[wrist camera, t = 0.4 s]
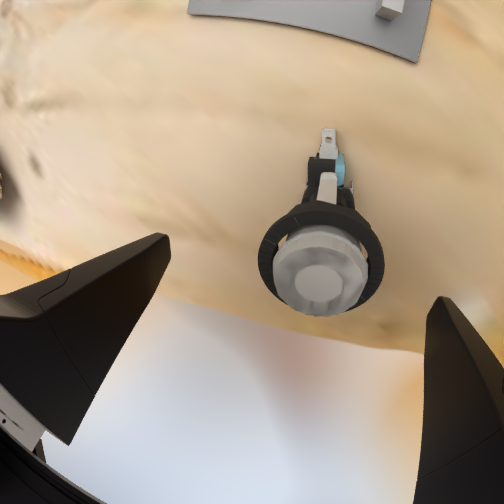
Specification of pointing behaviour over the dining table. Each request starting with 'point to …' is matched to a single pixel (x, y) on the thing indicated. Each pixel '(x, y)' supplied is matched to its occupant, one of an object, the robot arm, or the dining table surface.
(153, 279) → the robot arm
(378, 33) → the dock
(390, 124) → the dining table surface
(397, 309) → the dining table surface
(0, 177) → the mineral specimen
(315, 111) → the dining table surface
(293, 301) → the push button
